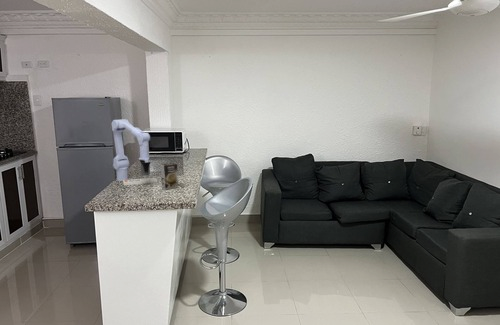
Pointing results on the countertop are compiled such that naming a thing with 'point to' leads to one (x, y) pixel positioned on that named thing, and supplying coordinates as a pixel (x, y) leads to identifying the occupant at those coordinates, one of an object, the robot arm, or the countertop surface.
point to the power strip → (139, 181)
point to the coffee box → (169, 176)
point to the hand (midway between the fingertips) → (145, 171)
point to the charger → (144, 172)
